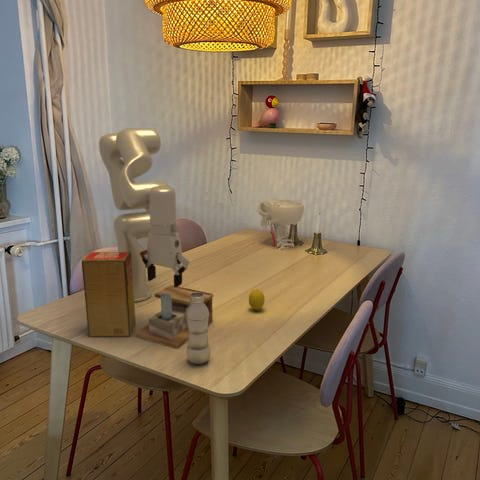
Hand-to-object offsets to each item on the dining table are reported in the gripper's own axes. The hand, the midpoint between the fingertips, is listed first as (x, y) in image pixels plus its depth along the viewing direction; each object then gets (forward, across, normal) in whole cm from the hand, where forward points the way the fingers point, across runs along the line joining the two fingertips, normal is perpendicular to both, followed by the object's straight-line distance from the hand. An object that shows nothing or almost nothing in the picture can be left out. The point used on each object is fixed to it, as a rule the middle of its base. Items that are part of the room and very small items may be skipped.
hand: (164, 282), depth 140 cm
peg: (+16, -1, +1) cm, 16 cm away
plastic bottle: (+16, -18, +10) cm, 26 cm away
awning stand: (+17, -1, -3) cm, 17 cm away
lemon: (+17, -18, -28) cm, 38 cm away
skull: (+20, +5, -103) cm, 105 cm away
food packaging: (+18, +16, +7) cm, 25 cm away
